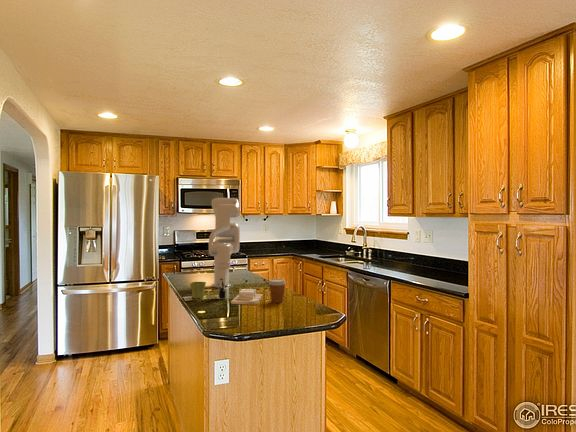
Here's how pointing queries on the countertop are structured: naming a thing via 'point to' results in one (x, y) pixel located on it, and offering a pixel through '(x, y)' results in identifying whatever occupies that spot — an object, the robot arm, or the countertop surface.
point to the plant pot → (197, 289)
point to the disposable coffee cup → (277, 290)
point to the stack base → (248, 301)
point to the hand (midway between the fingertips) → (223, 296)
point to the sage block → (225, 293)
